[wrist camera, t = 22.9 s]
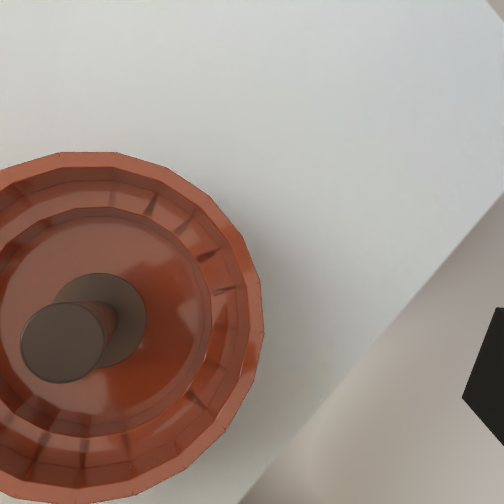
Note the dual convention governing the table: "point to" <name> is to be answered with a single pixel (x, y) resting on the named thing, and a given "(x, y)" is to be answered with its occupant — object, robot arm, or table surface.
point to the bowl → (155, 337)
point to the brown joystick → (83, 329)
